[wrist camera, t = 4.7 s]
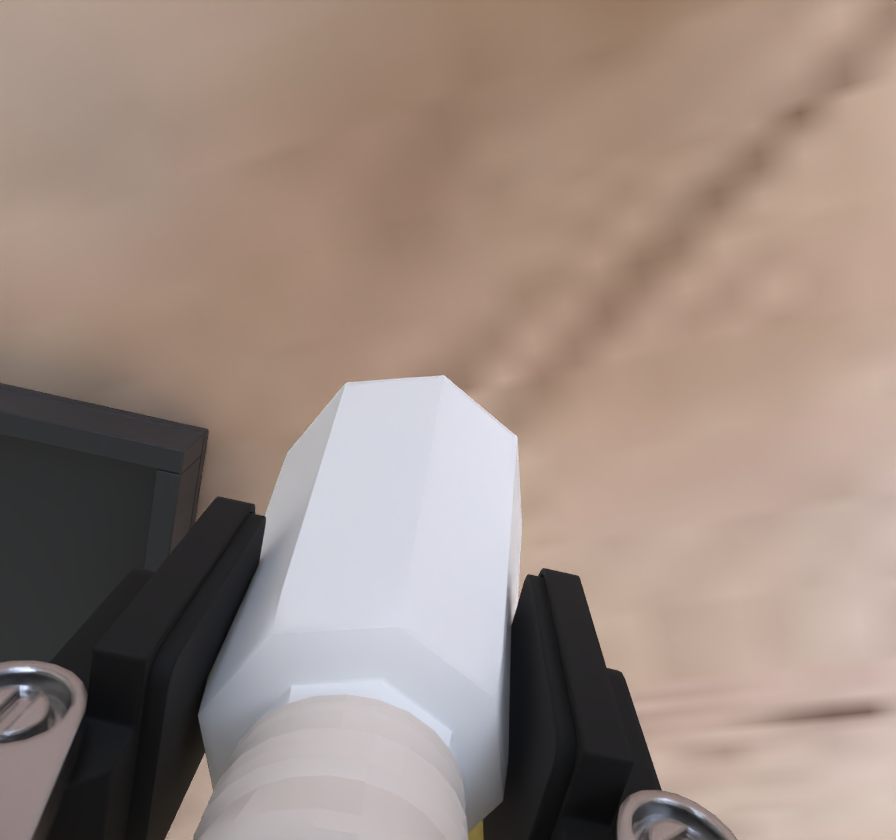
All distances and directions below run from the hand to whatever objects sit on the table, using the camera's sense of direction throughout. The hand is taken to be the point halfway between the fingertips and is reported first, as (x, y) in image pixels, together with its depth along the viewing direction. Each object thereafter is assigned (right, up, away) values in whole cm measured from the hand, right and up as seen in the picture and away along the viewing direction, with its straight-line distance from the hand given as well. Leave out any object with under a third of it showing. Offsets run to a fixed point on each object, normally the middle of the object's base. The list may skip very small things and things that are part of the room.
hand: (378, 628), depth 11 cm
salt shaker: (0, +2, +6) cm, 6 cm away
